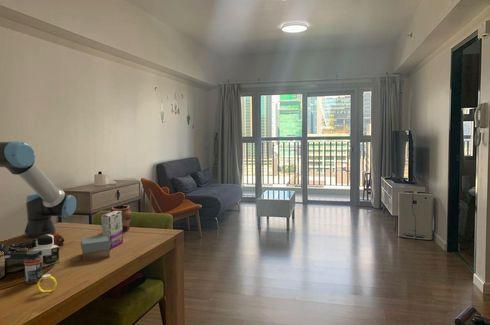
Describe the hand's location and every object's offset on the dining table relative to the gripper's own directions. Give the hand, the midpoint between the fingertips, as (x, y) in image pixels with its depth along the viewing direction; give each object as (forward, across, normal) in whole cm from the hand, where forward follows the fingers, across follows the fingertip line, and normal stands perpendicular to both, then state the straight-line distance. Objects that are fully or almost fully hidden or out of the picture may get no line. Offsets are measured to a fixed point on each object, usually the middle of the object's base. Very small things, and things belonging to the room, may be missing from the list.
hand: (52, 246), depth 157 cm
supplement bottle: (-5, +20, -7) cm, 22 cm away
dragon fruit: (-1, -20, -7) cm, 21 cm away
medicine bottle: (-2, 0, -7) cm, 8 cm away
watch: (0, +32, -7) cm, 33 cm away
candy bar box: (+26, -13, -7) cm, 30 cm away
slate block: (+17, -1, -3) cm, 17 cm away
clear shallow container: (+17, -2, -7) cm, 19 cm away
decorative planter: (+32, -41, -7) cm, 53 cm away
